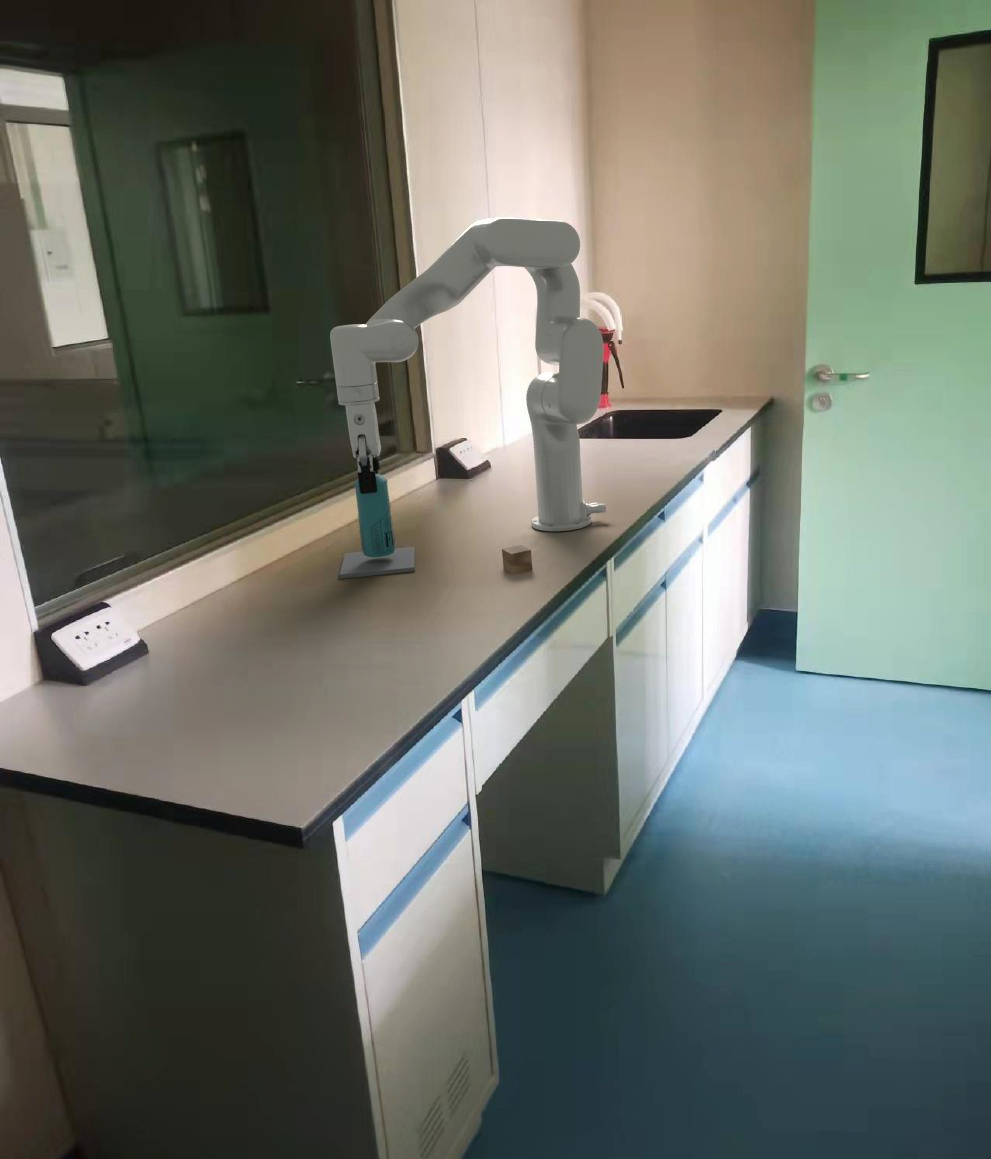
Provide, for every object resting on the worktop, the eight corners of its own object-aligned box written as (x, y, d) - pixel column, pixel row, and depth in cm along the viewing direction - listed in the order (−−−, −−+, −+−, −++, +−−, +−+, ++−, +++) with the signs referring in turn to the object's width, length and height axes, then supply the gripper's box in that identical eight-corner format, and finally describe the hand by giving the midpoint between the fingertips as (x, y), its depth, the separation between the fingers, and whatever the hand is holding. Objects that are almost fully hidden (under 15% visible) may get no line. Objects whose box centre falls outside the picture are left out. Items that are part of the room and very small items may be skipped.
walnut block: (522, 565, 184) (521, 544, 183) (532, 570, 180) (530, 549, 179) (503, 569, 182) (501, 548, 181) (512, 574, 179) (511, 553, 178)
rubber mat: (414, 550, 199) (414, 546, 198) (414, 571, 185) (414, 567, 185) (345, 557, 198) (344, 553, 198) (340, 578, 185) (339, 574, 184)
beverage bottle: (390, 565, 188) (380, 461, 181) (357, 564, 189) (345, 462, 182) (400, 554, 194) (390, 454, 187) (368, 554, 195) (357, 454, 189)
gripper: (376, 398, 173) (388, 496, 179) (380, 386, 190) (390, 476, 195) (334, 402, 173) (347, 500, 178) (341, 389, 189) (352, 480, 195)
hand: (369, 487), depth 187 cm, fingers open, 7 cm apart
